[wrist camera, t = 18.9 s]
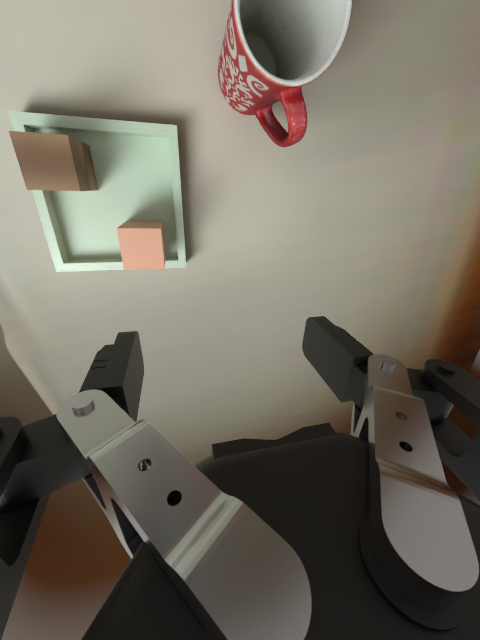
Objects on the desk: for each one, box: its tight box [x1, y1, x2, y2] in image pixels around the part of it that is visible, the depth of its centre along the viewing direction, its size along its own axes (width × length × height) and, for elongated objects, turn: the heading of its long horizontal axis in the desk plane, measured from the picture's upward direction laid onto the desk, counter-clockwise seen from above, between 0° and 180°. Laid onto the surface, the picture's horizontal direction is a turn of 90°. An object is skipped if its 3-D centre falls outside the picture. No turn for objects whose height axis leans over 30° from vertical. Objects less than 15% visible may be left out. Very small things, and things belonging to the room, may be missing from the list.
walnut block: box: [9, 131, 98, 191], centre depth 26 cm, size 4×4×7 cm
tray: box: [8, 111, 186, 272], centre depth 31 cm, size 16×16×3 cm
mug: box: [218, 0, 352, 147], centre depth 25 cm, size 13×9×14 cm
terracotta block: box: [117, 221, 166, 270], centre depth 32 cm, size 4×4×7 cm
